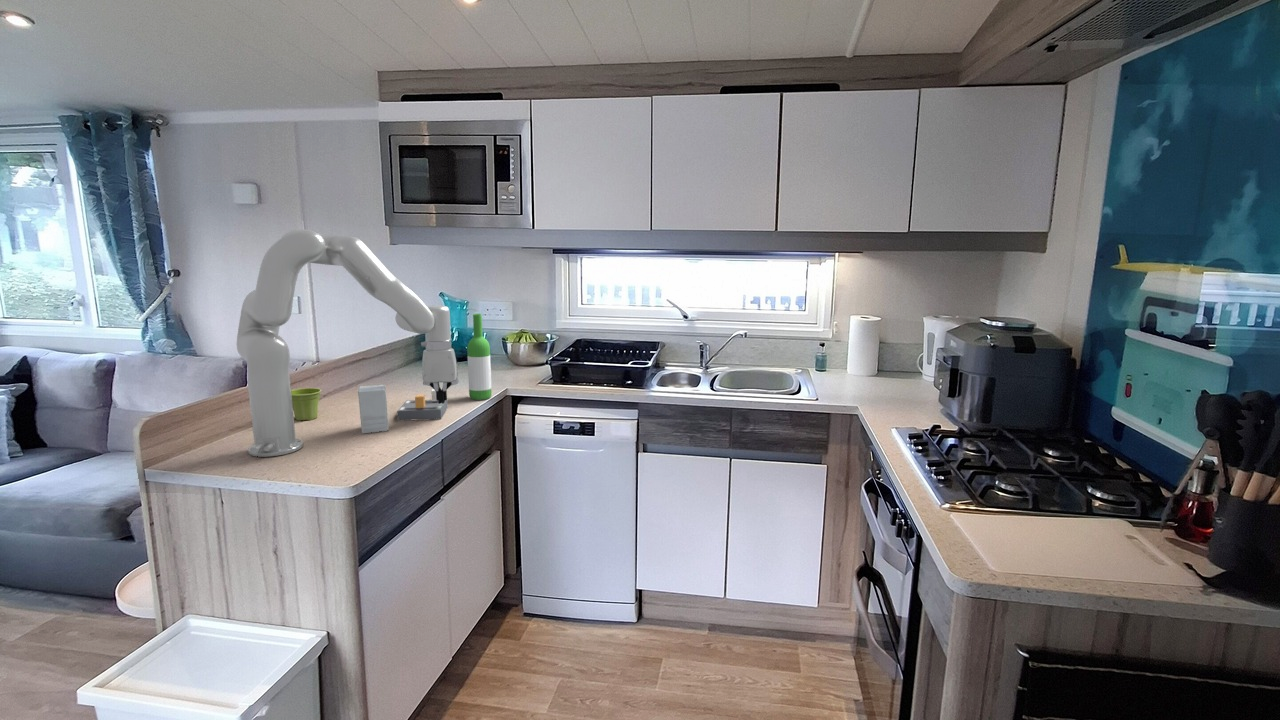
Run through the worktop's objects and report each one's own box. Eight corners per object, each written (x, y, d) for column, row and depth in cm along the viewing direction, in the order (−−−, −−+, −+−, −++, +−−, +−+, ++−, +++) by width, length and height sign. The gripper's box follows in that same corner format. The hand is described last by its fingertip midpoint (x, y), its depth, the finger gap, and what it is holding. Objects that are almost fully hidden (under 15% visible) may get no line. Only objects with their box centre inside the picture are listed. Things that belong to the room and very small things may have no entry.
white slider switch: (439, 401, 203) (438, 390, 202) (431, 401, 202) (431, 390, 202) (441, 398, 205) (440, 388, 205) (433, 399, 205) (432, 388, 204)
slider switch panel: (441, 419, 195) (440, 409, 194) (397, 420, 193) (397, 410, 192) (447, 408, 207) (447, 399, 207) (407, 409, 206) (406, 400, 205)
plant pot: (307, 412, 200) (304, 386, 198) (330, 415, 197) (328, 389, 195) (282, 420, 191) (279, 393, 190) (306, 423, 188) (303, 396, 187)
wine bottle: (469, 401, 216) (466, 315, 210) (468, 396, 223) (465, 313, 218) (492, 399, 219) (489, 315, 213) (490, 394, 226) (487, 312, 220)
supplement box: (388, 424, 189) (386, 384, 186) (388, 431, 182) (385, 389, 180) (362, 426, 186) (359, 385, 184) (361, 434, 179) (357, 391, 177)
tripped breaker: (423, 407, 194) (422, 397, 194) (415, 408, 194) (414, 397, 193) (425, 405, 197) (424, 394, 197) (417, 405, 197) (416, 394, 196)
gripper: (411, 348, 188) (414, 406, 192) (461, 347, 190) (464, 405, 194) (416, 343, 195) (419, 400, 199) (465, 343, 197) (467, 398, 201)
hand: (441, 402), depth 196 cm, fingers closed
